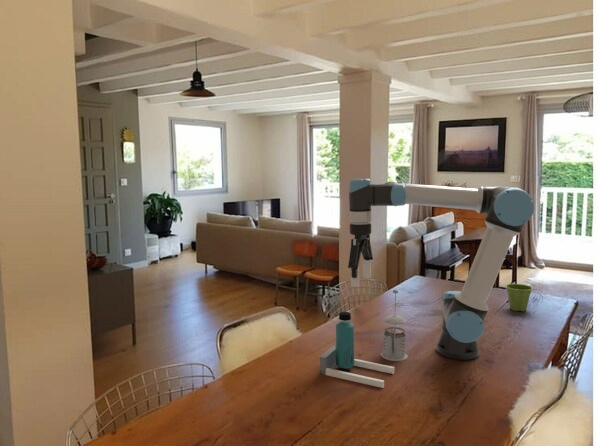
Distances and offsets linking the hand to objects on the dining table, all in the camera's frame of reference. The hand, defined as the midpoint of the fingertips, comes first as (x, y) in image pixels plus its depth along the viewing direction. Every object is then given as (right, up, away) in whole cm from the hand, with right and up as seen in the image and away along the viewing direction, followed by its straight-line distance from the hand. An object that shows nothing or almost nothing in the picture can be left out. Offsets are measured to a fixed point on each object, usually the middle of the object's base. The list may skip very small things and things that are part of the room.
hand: (361, 281), depth 167 cm
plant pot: (+83, -21, +59) cm, 104 cm away
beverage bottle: (-6, -30, -5) cm, 31 cm away
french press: (+13, -28, +5) cm, 31 cm away
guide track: (-2, -30, -8) cm, 31 cm away
